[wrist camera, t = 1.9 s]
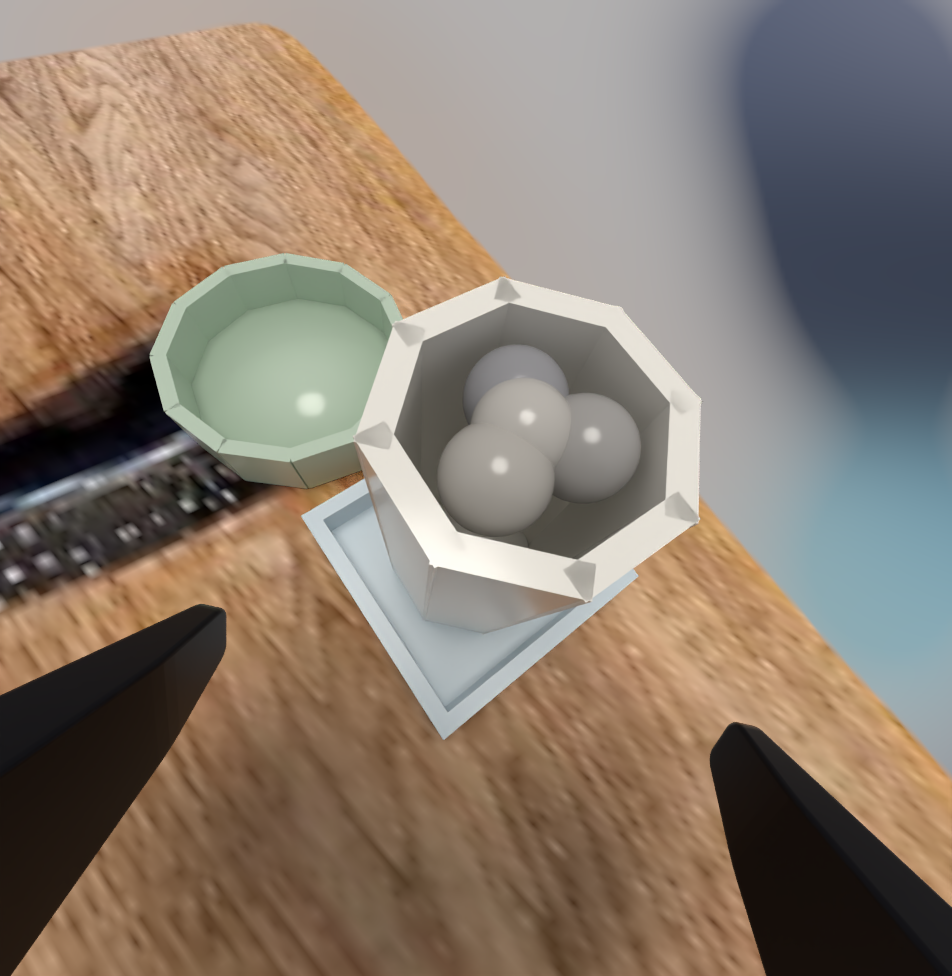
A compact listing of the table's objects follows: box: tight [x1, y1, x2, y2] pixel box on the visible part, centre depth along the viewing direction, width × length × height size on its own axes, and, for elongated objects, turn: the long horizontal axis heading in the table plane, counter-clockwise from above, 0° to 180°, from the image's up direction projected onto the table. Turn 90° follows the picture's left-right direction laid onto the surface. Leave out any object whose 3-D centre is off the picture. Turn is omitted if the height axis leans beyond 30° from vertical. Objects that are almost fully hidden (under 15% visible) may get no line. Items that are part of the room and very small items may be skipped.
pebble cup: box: [353, 276, 702, 634], centre depth 13 cm, size 6×6×12 cm
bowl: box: [150, 253, 403, 489], centre depth 20 cm, size 10×10×3 cm
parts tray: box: [301, 479, 638, 740], centre depth 19 cm, size 10×10×2 cm
